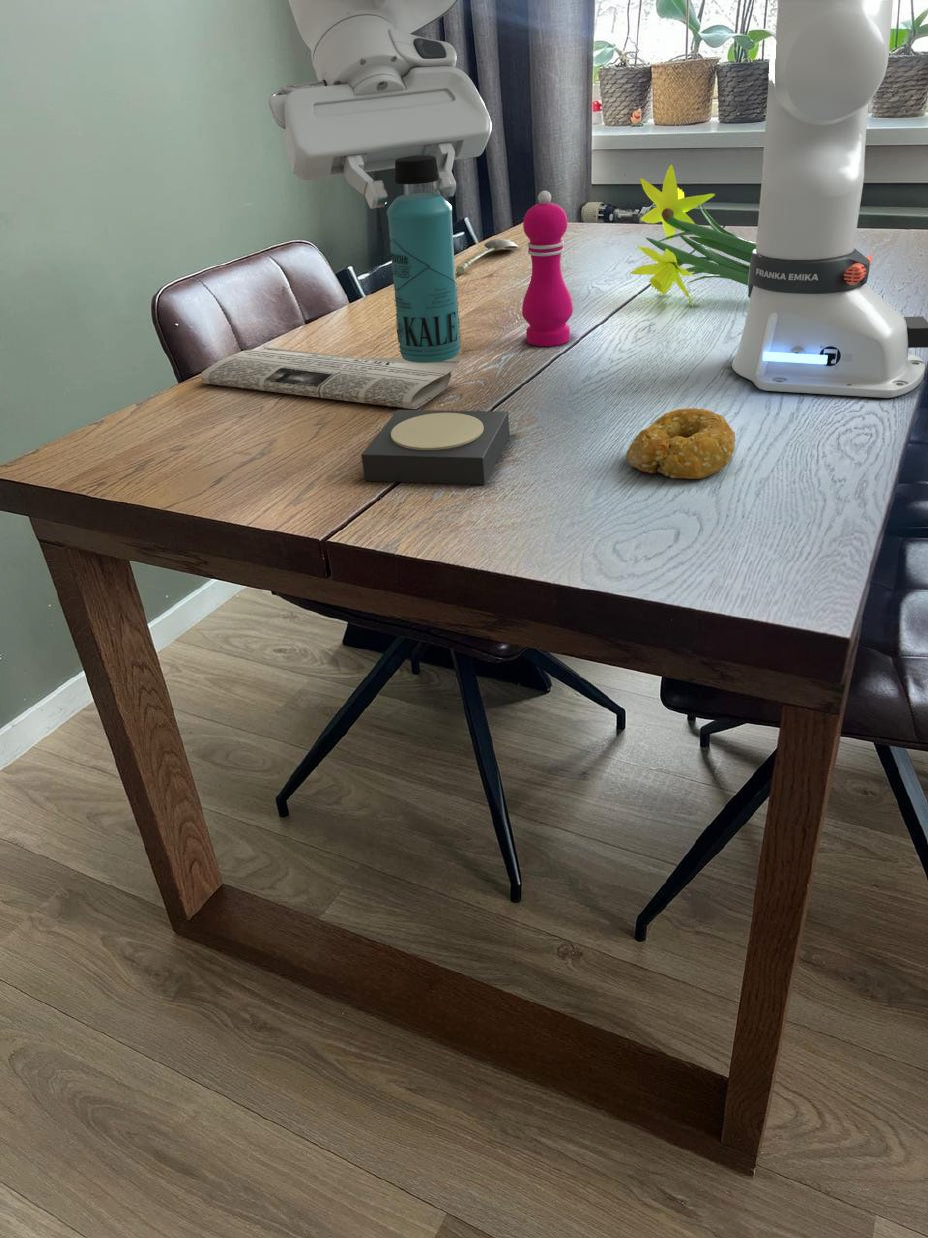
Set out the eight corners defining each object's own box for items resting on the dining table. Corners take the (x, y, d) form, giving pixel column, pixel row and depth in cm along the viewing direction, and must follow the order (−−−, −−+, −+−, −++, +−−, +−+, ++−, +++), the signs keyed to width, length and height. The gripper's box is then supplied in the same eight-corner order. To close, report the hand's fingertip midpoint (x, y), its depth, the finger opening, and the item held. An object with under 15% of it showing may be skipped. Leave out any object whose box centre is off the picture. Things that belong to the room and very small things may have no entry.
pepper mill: (570, 347, 133) (568, 194, 123) (519, 348, 135) (513, 196, 124) (575, 332, 139) (574, 184, 129) (527, 333, 141) (521, 187, 130)
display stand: (509, 436, 107) (508, 408, 106) (484, 485, 97) (482, 455, 95) (400, 434, 110) (397, 406, 109) (364, 480, 100) (360, 451, 98)
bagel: (616, 450, 102) (617, 407, 99) (717, 440, 102) (721, 397, 99) (637, 488, 93) (638, 443, 91) (747, 478, 94) (752, 432, 91)
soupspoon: (523, 252, 190) (494, 253, 193) (522, 234, 189) (493, 235, 192) (475, 274, 174) (444, 275, 177) (473, 255, 172) (442, 256, 175)
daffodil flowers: (810, 334, 133) (588, 255, 143) (809, 359, 147) (607, 285, 157) (866, 218, 130) (636, 145, 141) (860, 254, 144) (652, 186, 155)
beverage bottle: (428, 354, 102) (411, 149, 92) (476, 364, 99) (464, 151, 88) (387, 372, 98) (364, 159, 87) (435, 382, 94) (417, 161, 84)
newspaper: (202, 386, 131) (196, 360, 129) (259, 358, 140) (254, 334, 138) (421, 413, 116) (418, 385, 114) (469, 380, 125) (467, 354, 123)
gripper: (264, 61, 86) (314, 190, 84) (467, 41, 93) (518, 160, 90) (260, 114, 92) (307, 236, 89) (451, 92, 98) (499, 205, 96)
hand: (414, 198), depth 90 cm, fingers closed on beverage bottle, 6 cm apart
